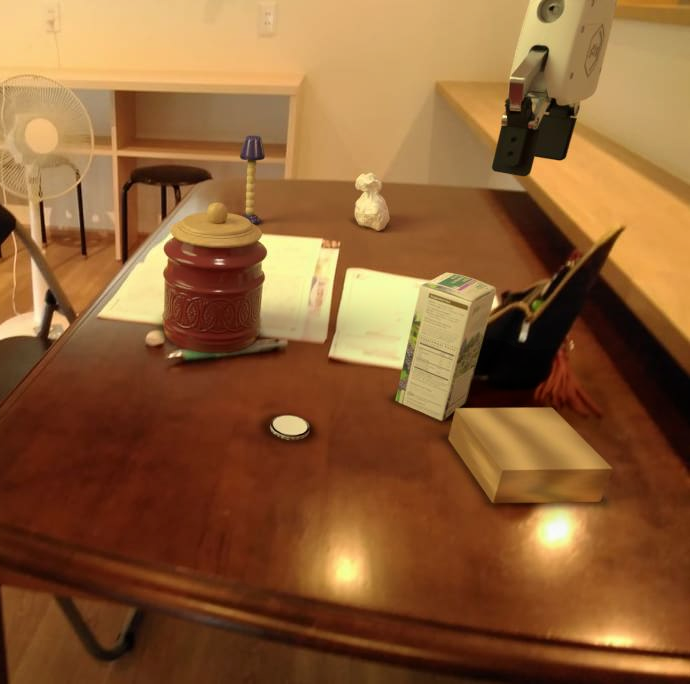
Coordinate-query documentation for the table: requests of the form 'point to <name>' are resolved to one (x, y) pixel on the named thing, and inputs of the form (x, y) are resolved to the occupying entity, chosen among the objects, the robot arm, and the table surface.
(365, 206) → the white tied sack
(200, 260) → the kitchen canister
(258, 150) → the toy lamp
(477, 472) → the maple block
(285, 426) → the bottle cap
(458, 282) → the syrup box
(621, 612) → the table surface
